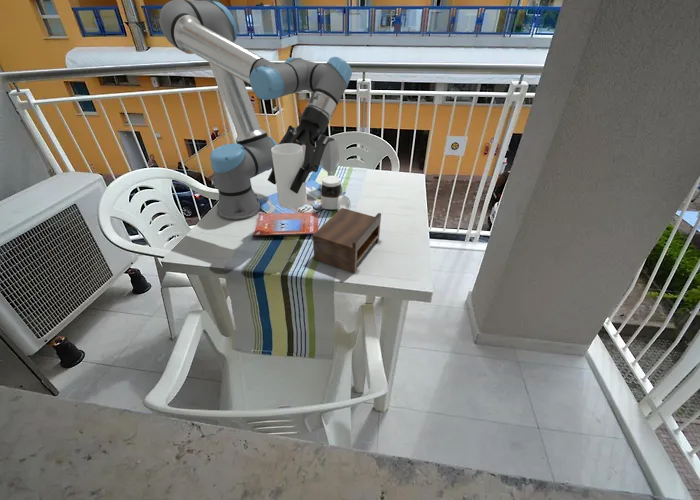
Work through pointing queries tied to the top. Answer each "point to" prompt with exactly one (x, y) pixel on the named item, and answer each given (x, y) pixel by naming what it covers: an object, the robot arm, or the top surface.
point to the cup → (288, 174)
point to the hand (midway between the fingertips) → (282, 186)
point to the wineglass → (330, 156)
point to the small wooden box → (346, 238)
